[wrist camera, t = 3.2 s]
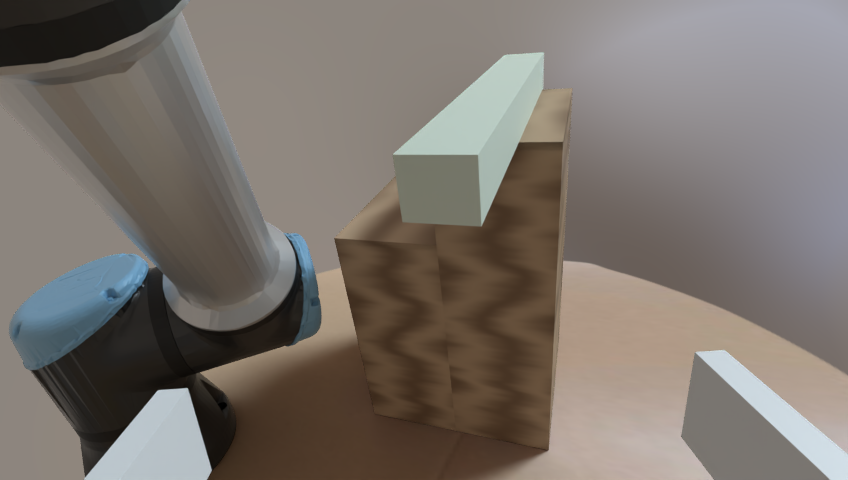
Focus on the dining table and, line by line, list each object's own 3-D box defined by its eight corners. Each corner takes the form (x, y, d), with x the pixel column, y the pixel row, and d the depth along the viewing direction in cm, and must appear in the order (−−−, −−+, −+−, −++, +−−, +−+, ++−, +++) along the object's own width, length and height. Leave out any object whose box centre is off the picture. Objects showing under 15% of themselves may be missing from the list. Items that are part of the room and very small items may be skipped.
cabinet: (374, 413, 53) (312, 143, 37) (422, 318, 67) (392, 96, 52) (548, 450, 46) (563, 141, 30) (558, 336, 61) (572, 88, 45)
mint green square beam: (402, 222, 22) (392, 154, 20) (505, 89, 48) (504, 55, 46) (481, 226, 21) (477, 154, 19) (543, 87, 47) (543, 52, 45)
